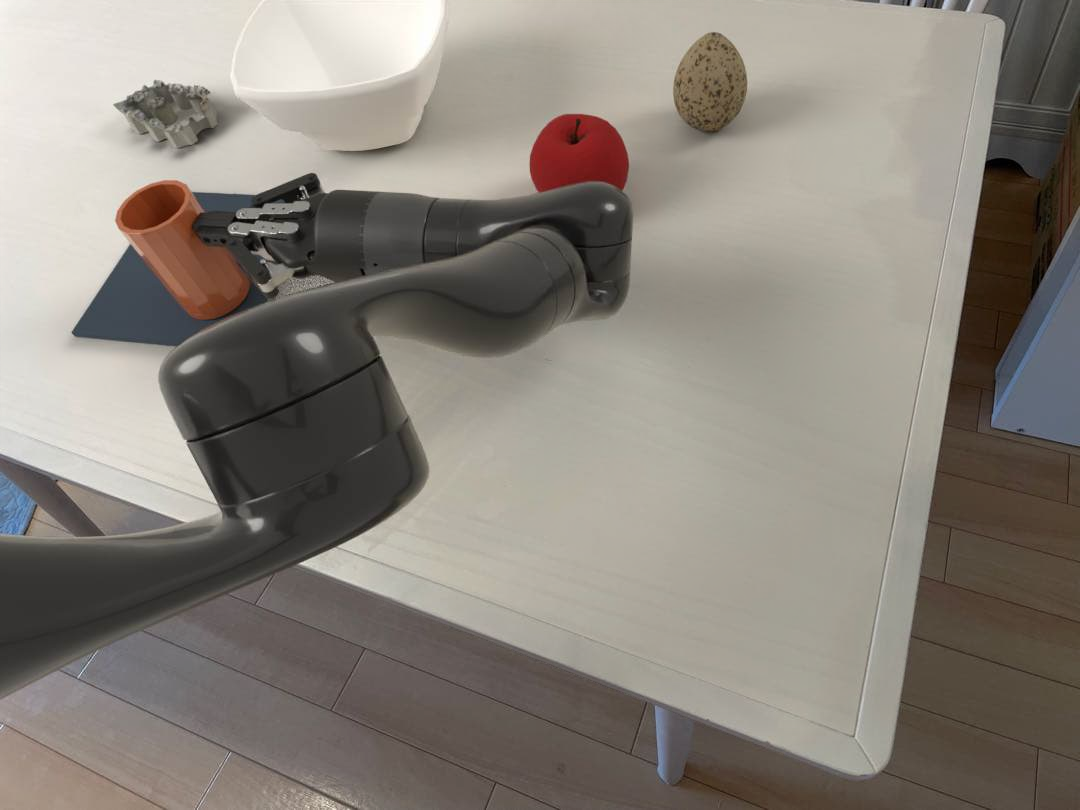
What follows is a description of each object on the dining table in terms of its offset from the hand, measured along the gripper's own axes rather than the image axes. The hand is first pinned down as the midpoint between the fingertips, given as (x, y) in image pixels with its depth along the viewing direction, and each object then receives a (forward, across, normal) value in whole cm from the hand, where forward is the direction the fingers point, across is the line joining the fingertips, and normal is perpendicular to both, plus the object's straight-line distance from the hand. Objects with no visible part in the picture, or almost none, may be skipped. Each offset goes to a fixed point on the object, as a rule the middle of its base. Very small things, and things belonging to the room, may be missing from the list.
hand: (199, 227), depth 68 cm
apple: (-30, -16, +10) cm, 35 cm away
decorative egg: (-41, -28, +10) cm, 51 cm away
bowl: (-4, -27, +10) cm, 29 cm away
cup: (+3, 0, +9) cm, 9 cm away
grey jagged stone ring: (+21, -26, +10) cm, 35 cm away
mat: (+7, -4, +10) cm, 13 cm away
